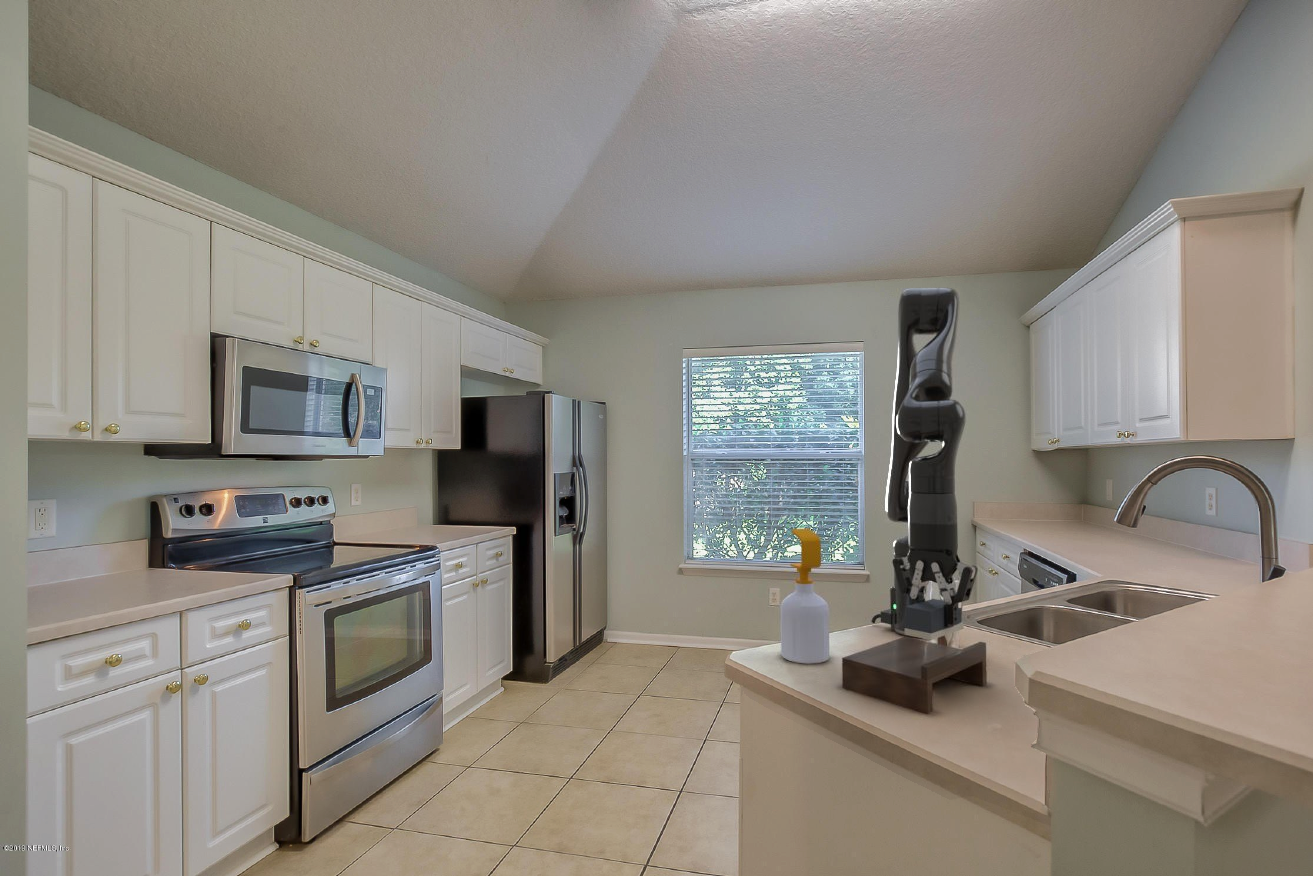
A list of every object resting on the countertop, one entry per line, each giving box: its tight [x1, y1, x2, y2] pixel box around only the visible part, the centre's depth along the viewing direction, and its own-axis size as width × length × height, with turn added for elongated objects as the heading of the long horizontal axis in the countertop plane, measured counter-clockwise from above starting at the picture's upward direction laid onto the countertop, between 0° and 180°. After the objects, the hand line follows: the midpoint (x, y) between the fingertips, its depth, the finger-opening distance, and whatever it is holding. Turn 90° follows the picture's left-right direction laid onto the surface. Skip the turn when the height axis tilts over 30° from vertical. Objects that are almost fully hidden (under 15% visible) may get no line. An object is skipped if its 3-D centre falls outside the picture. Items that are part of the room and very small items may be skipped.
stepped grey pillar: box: [904, 599, 965, 641], centre depth 109 cm, size 11×4×4 cm, turn 130°
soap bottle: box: [780, 528, 830, 665], centre depth 128 cm, size 9×9×25 cm
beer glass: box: [924, 576, 964, 649], centre depth 128 cm, size 7×7×15 cm
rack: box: [841, 636, 988, 715], centre depth 111 cm, size 15×20×7 cm
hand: (934, 623), depth 109 cm, fingers closed on stepped grey pillar, 4 cm apart
